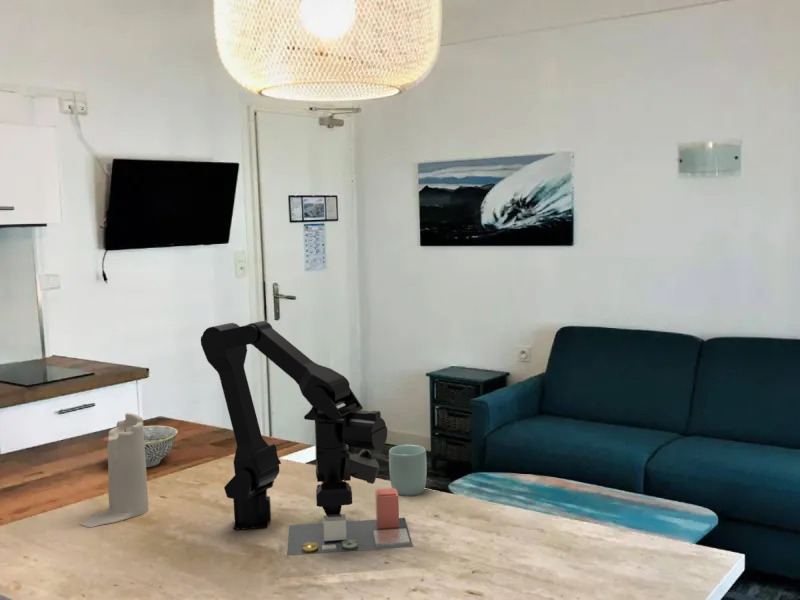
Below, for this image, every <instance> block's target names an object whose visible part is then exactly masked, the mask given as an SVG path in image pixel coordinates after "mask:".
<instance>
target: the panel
mask: <svg viewBox="0 0 800 600" xmlns="http://www.w3.org/2000/svg"><path fill="white" fill-rule="evenodd" d="M346 536H347V540H333V541H324V523H323V522H321V523H320V522H319V523H304V524H303V523H302V524H289V526H288V538H287V547H286V548H287V549H286V556H289V557H290V556H300V555H301V556H303V555H313V554H314V555H315V554H317V555H318V554H329V553H342V552H343V553H346V552H359V551H360V552H361V551H372V550H375V551H376V550H384V549H385V550H387V549H401V548H403V549H404V548H413V547H414V545H413V541H412V537H411V534H410V531H409V527H408V524H407V521H406V518H405V517H399V527H390V528H378V526H377V521H376V519H367V520H363V519H362V520H349V521H347V520H346Z"/></svg>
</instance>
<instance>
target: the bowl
mask: <svg viewBox="0 0 800 600" xmlns="http://www.w3.org/2000/svg"><path fill="white" fill-rule="evenodd" d="M143 429H144V445H145V458H146V468H149V467H151V468H152V467H154V466H157V465H159V464H160V463H161V460H162V459H164V458H165V457H166V456H168V455H169V453H170V452H171V451H172V449H173V446H174V444H175V443H174V442H175V439H176V437H177V435H178V429H176V428H175V427H172V426H166V425H143Z"/></svg>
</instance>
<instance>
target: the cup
mask: <svg viewBox="0 0 800 600" xmlns="http://www.w3.org/2000/svg"><path fill="white" fill-rule="evenodd" d="M388 470H389V479H390V480H389V481H390V486H391V487H390V488H394V489H396V490H397V493H398V496H417V495H420V494H422V493H424V491H425V488H426V484H427V450H426V448H425V447H424V446H422V445H417V444H400V445H395V446H392V447H390V449H389V450H388Z"/></svg>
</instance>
